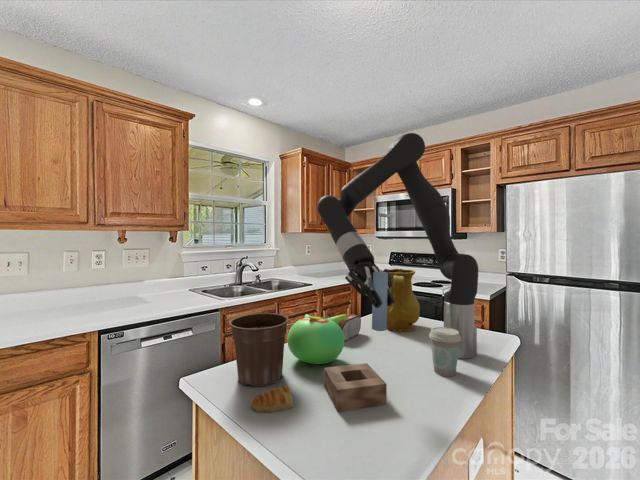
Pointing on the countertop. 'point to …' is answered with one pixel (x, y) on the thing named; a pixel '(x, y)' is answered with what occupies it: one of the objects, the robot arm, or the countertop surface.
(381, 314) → the dowel
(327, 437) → the countertop surface
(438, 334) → the coffee cup
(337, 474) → the countertop surface
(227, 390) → the countertop surface
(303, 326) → the green round piece
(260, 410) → the pastry
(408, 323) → the pitcher
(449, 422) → the countertop surface
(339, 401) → the socket block
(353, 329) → the tin
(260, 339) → the plant pot
